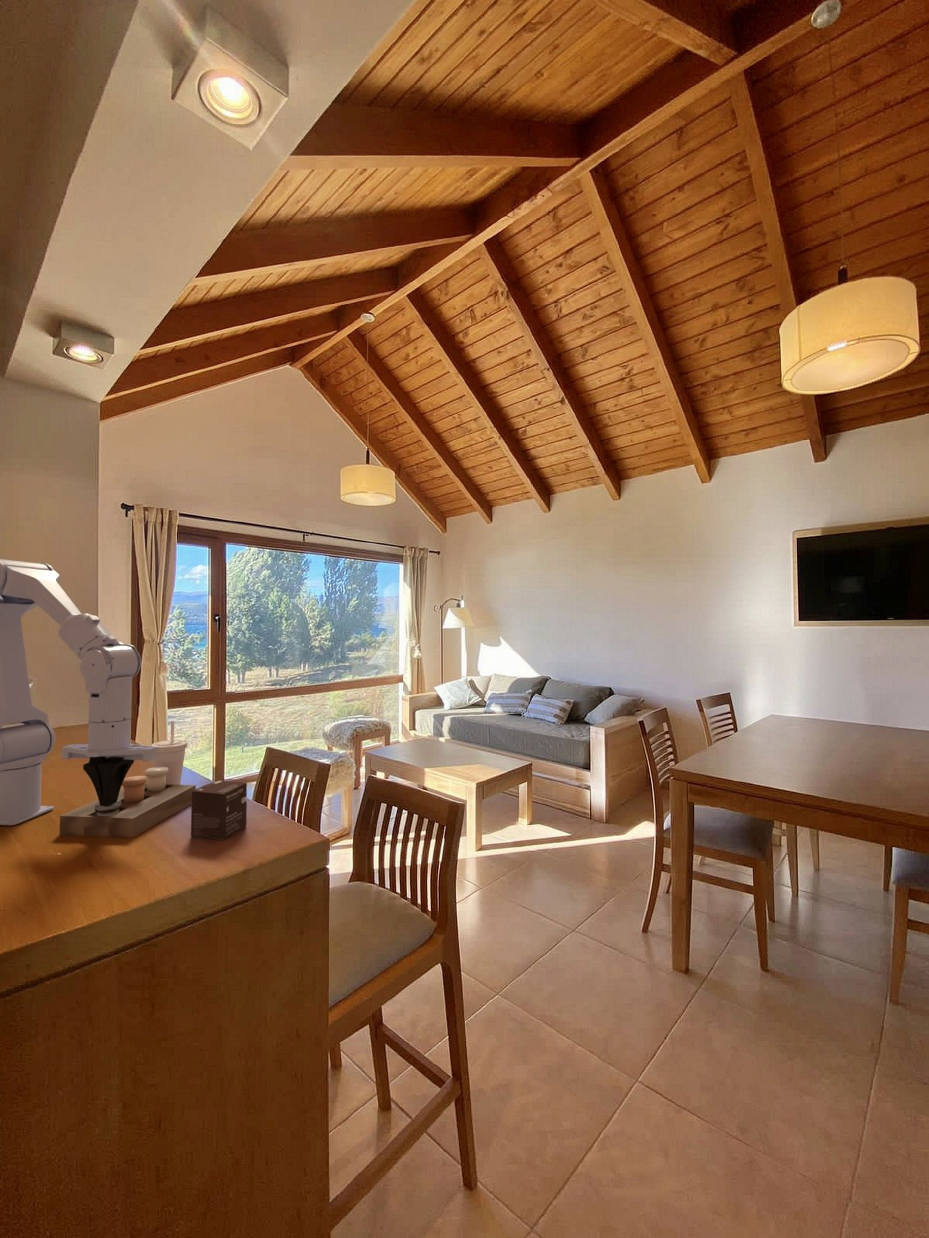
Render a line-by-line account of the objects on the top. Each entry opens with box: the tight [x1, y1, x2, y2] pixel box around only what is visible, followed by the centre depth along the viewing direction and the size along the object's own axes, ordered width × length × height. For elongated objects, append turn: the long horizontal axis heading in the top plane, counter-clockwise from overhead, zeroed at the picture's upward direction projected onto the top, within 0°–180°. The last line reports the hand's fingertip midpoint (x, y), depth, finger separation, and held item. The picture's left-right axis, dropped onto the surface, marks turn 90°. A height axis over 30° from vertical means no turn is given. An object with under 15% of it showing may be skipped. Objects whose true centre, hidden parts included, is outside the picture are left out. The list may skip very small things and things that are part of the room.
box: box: [190, 780, 248, 841], centre depth 84 cm, size 6×6×7 cm
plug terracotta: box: [121, 775, 147, 803], centre depth 90 cm, size 4×4×4 cm
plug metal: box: [95, 800, 122, 816], centre depth 84 cm, size 4×4×4 cm
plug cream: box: [144, 766, 168, 792], centre depth 96 cm, size 4×4×4 cm
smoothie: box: [150, 720, 189, 785], centre depth 103 cm, size 6×6×14 cm
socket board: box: [59, 783, 197, 839], centre depth 90 cm, size 12×17×3 cm
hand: (108, 803), depth 84 cm, fingers closed, pressing on plug metal
